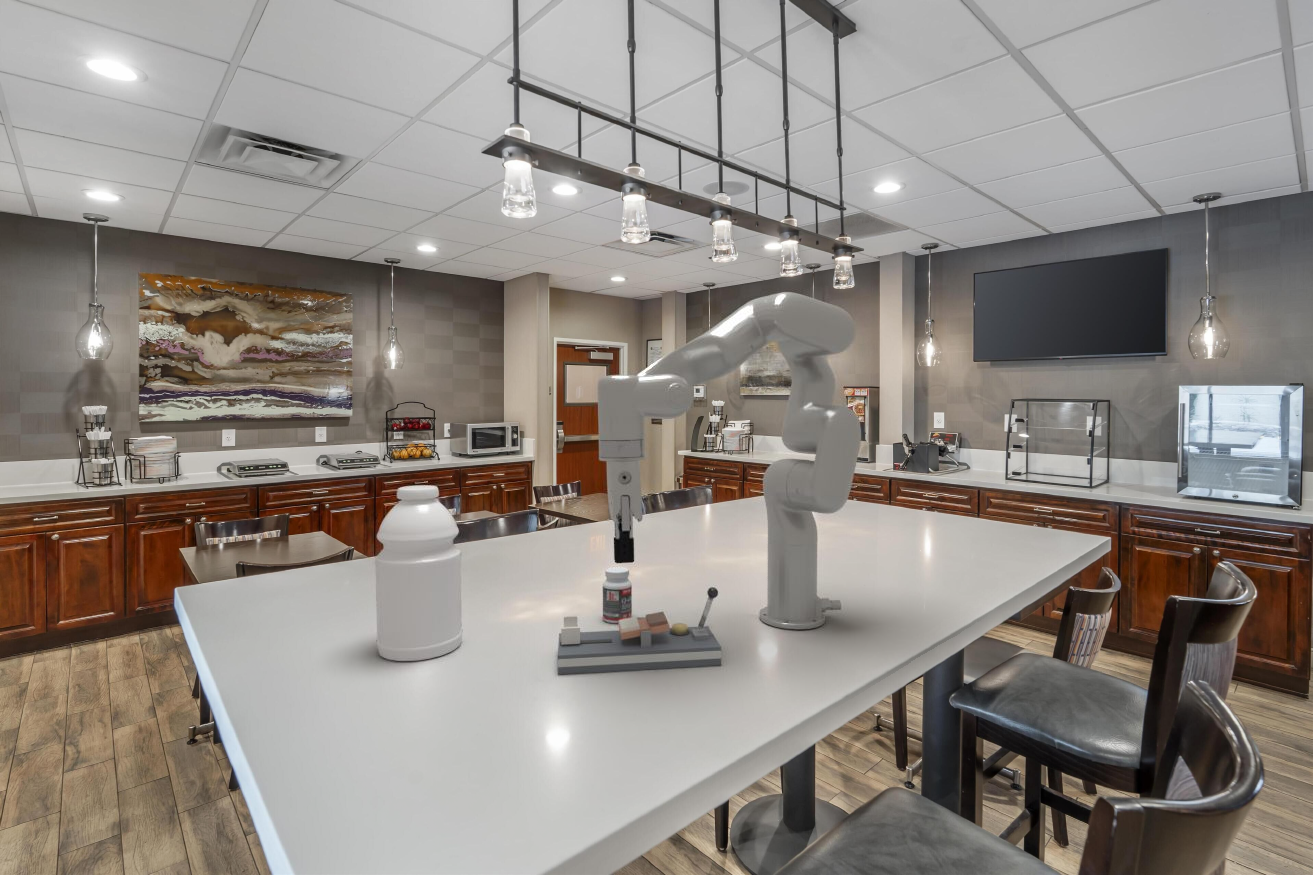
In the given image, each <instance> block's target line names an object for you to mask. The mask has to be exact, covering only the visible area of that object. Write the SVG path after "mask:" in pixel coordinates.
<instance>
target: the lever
mask: <svg viewBox="0 0 1313 875" xmlns="http://www.w3.org/2000/svg"><path fill="white" fill-rule="evenodd" d="M706 593H707V596H708V597H707V599H706V602H705V605H704V608H703V611H702V614H701V616H700V619H699V622H698V626H697V627H698V628H699V629H703V627H704V626H705V625H706V621H707V618H708V616H709V613H710V610H711V607H712V604H713V601H714V599H716V598H717V597H718V595H719V591H718V589H717V588H716V587H715V586H714V587H713V586H711V587H709V588H708V589H707V591H706Z"/></svg>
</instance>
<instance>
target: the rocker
mask: <svg viewBox="0 0 1313 875" xmlns="http://www.w3.org/2000/svg"><path fill="white" fill-rule="evenodd" d="M645 617H646V618H642V619H637V616H633V617H631V618H627V619H621V620H619V623H617V624H618V630H620V635H621V640H623V639H628V638H633V637H638V636H641V631H647V630H651V634H653V633H658V632H663V631H669V630H670V628H671V627H670V623H669V621H668V619H667V617H666V615H665V613H664V611H659V612H654V613H649V614H645Z"/></svg>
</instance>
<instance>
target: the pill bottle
mask: <svg viewBox="0 0 1313 875" xmlns="http://www.w3.org/2000/svg"><path fill="white" fill-rule="evenodd" d="M604 575H605V577H606V579H605V580H604V581H603V582H602V619H603V620H604V622H607V623H609V624H618V623H619V620H621V619H627V618H632V615H633V614H632V612H633V611H632V610H633V609H632V606H633V605H632V602H633V599H632V597H633V595H632V592H633V591H632V582H631V580H630V579H629V576H630V569H629V568H628V567H624V566H613V567H608V568H606V569H605V574H604Z"/></svg>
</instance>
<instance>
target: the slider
mask: <svg viewBox="0 0 1313 875" xmlns="http://www.w3.org/2000/svg"><path fill="white" fill-rule="evenodd" d="M560 626H561V632H560V633H561V645H564V644H580V632H581V622H578V615H577V614H576V615H574V614H571V615H570V614H569V615H563V623H561V625H560Z"/></svg>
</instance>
